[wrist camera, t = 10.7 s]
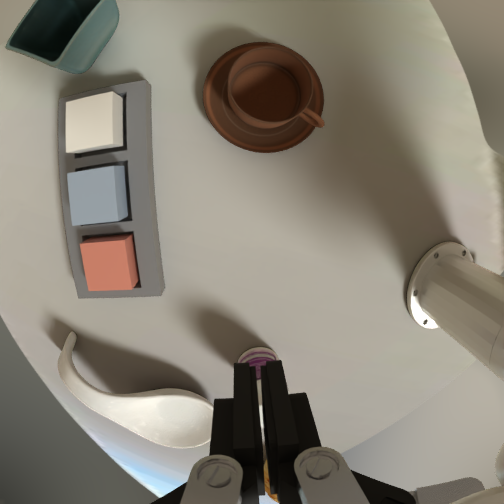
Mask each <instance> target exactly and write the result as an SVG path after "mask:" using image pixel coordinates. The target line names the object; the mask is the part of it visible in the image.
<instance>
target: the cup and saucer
mask: <svg viewBox="0 0 504 504" xmlns="http://www.w3.org/2000/svg"><path fill="white" fill-rule="evenodd" d="M203 102H204V107H205V111H206V114H207V116H208V118H209V120H210V122H211V124H212V125H213V127H214V128H215V129H216V131H217V132H218V133H219V134H220V135H221V136H222V137H224V138H225V139H226V140H227V141H229V142H230V143H232V144H234V145H236V146H238V147H240V148H242V149H245V150H249V151H253V152H260V153H272V152H279V151H283V150H287V149H289V148H292V147H294V146H296V145H298V144H299V143H301V142H302V141H303V140H305V139H306V138H307V137H308V136H309V135H310V134H311V133H312V132H313V130H314V129H315V127H320V128H321V127H323V126H324V121H323V120H322V118H321V115H322V111H323V104H324V95H323V89H322V85H321V82H320V79H319V77H318V75H317V73H316V72H315V70H314V69H313V67H312V66H311V65H310V64H309V63H308V61H307V60H305V59H304V58H303V57H302V56H301V55H299V54H298V53H296V52H295V51H293V50H291V49H289V48H287V47H285V46H282V45H278V44H274V43H268V42H254V43H248V44H244V45H241V46H238V47H235V48H233V49H231V50H230V51H228V52H226V53H225V54H224V55H222V56H221V57H220V58H219V59H218V60H217V61H216V62H215V63H214V65H213V66H212V67H211V69H210V71H209V73H208V75H207V77H206V80H205V83H204V88H203Z"/></svg>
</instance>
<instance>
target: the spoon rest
mask: <svg viewBox="0 0 504 504" xmlns="http://www.w3.org/2000/svg"><path fill="white" fill-rule="evenodd" d="M76 338H77V336H76V334H75V333H74V332H71V333H70V334H69V335H68V337H67V339H66V342H65V344H64V347H63V349H62V352H61V354H60V357H59V359H58V371H59V374H60V377H61V379H62V380H63V382H64V384H65V385H66V386H67V388H68V389H69V390H70V391H71V392H72V394H73V395H74V396H75V397H76V398H77V399H78V400H80V401H81V402H82V403H83V404H84V405H86V406H87V407H89V408H90V409H92V410H93V411H95V412H97V413H99V414H101V415H102V416H104V417H106V418H108V419H110V420H112V421H114V422H116V423H118V424H119V425H121V426H123V427H125V428H127V429H128V430H130V431H132V432H134V433H136V434H137V435H139V436H141V437H143V438H145V439H147V440H149V441H152V442H154V443H157V444H160V445H163V446H167V447H173V448H192V447H197V446H200V445H203V444H205V443H207V442H208V441H210V440H211V430H212V418H213V407H214V405H213V404H212V403H211V402H209V401H208V400H207V399H205V398H204V397H202V396H200V395H198V394H196V393H193V392H190V391H187V390H183V389H176V388H164V389H157V390H151V391H146V392H139V393H131V394H114V393H108V392H104V391H101V390H99V389H97V388H95V387H94V386H92V385H91V384H89V383H88V382H87V381H86V380H85V379H84V378H83V377H82V376H81V375H80V374H79V373H78V372H77V370H76V368H75V366H74V364H73V361H72V351H73V348H74V345H75V343H76Z"/></svg>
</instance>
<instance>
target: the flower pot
mask: <svg viewBox="0 0 504 504" xmlns="http://www.w3.org/2000/svg"><path fill="white" fill-rule="evenodd" d="M118 22H119V10H118V7H117V3H116V0H36V1H35V2H34V4H33V5H32V6H31V8H30V9H29V10H28V12H27V13H26V15H25V16H24V17H23V19H22V20H21V22H20V23H19V24H18V26H17V28H16V29H15V30H14V32H13V34H12V35H11V37H10V38H9V40H8V42H7V44H6V47H5V48H6V49H8V50H12V51H14V52H18V53H20V54H23V55H26V56H28V57H31V58H33V59H36V60H38V61H40V62H43V63H45V64H47V65H49V66H51V67H55V68H58V69H61V70H64V71H67V72H70V73H74V74H80V73H83V72H85V71H86V70H88V69H89V68H90V67H91V66H92V64H93V63H94V61H95V59H96V58H97V56H98V55H99V53H100V52H101V51H102V49H103V48H104V46H105V45H106V43H107V42H108V41H109V39H110V38H111V37H112V35H113V33H114V32H115V30H116V27H117V25H118Z"/></svg>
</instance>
